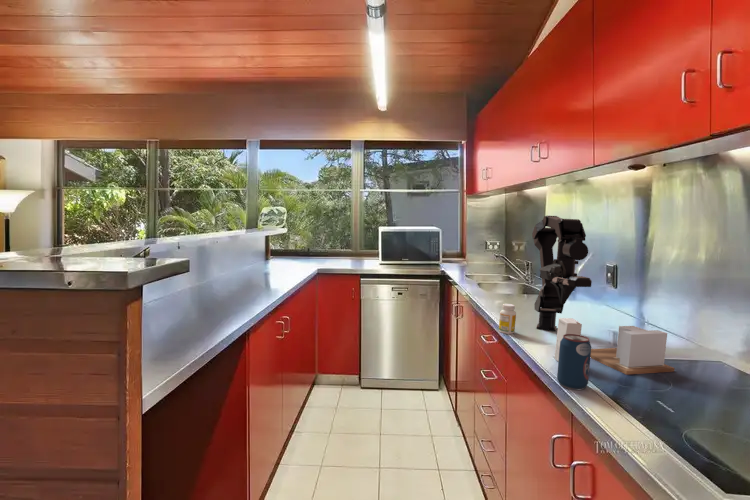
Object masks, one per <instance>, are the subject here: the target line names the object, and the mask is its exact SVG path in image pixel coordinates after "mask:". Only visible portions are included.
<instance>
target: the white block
mask: <svg viewBox="0 0 750 500" xmlns="http://www.w3.org/2000/svg"><path fill="white" fill-rule="evenodd" d="M667 338H668V333H667V332H665V331H662V330H659V329H655V330H653V329H652V330H648V329H644V328H641V327H638V326H635V325H619V326H618V331H617V344H616V348H617V352H616V357H617V358H620V364H622V365H624V366H627V367H640V366H658V365H664V364H665V357H666V349H667V341H668V339H667Z"/></svg>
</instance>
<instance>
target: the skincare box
mask: <svg viewBox="0 0 750 500" xmlns="http://www.w3.org/2000/svg"><path fill="white" fill-rule="evenodd" d="M582 327H583V324H582V323H581V322H579V321H578V320H576V319H574V318H571V317H559V318H558V325H557V331H556V332H557V333H556V334H557V335H556V342H555V351H554V359H555V361H557V362H558V361H559V349H560V341H561V340H562V338H563V335H565V334H576V335H581V336H582Z"/></svg>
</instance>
